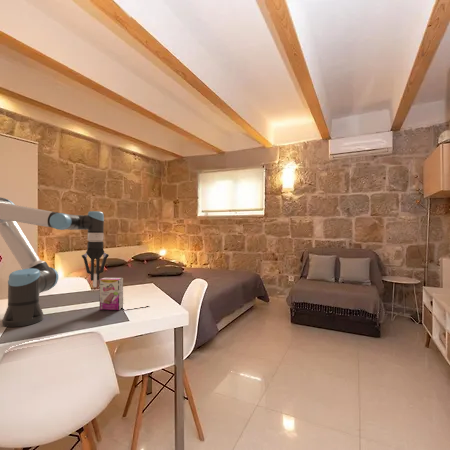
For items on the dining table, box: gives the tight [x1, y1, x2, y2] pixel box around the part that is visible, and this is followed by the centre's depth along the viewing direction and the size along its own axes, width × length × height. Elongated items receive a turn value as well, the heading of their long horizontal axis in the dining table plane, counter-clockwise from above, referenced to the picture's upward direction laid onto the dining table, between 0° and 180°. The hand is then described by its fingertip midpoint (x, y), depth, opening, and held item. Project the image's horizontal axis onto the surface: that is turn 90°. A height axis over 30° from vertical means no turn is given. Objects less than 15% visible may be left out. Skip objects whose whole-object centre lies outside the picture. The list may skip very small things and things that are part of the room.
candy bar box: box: [98, 277, 124, 311], centre depth 146 cm, size 11×5×16 cm, turn 84°
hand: (94, 286), depth 141 cm, fingers closed
